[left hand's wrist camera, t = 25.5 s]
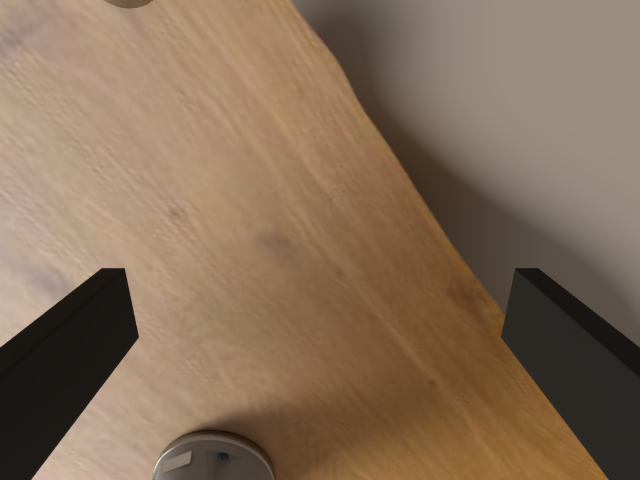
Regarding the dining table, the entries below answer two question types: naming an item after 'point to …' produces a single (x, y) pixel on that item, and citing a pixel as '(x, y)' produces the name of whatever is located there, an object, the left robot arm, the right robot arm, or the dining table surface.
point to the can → (129, 3)
